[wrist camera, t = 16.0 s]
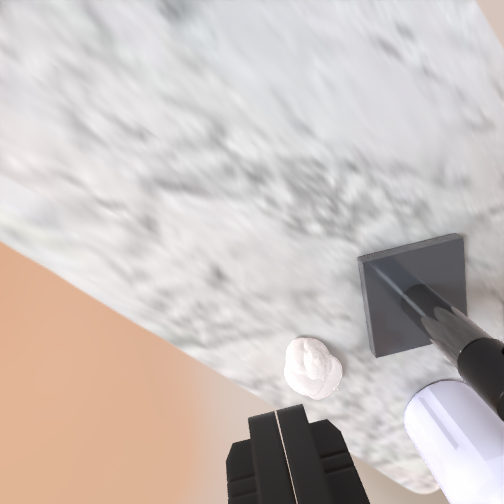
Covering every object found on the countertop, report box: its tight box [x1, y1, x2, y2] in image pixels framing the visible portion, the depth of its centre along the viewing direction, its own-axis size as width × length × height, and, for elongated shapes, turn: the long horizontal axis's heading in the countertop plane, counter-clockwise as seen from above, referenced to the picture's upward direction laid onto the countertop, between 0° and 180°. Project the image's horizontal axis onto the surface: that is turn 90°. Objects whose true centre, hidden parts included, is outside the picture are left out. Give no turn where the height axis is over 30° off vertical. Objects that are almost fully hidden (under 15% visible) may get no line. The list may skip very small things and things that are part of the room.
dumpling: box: [285, 337, 342, 400], centre depth 43 cm, size 7×5×4 cm
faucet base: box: [358, 233, 492, 369], centre depth 38 cm, size 11×10×12 cm
